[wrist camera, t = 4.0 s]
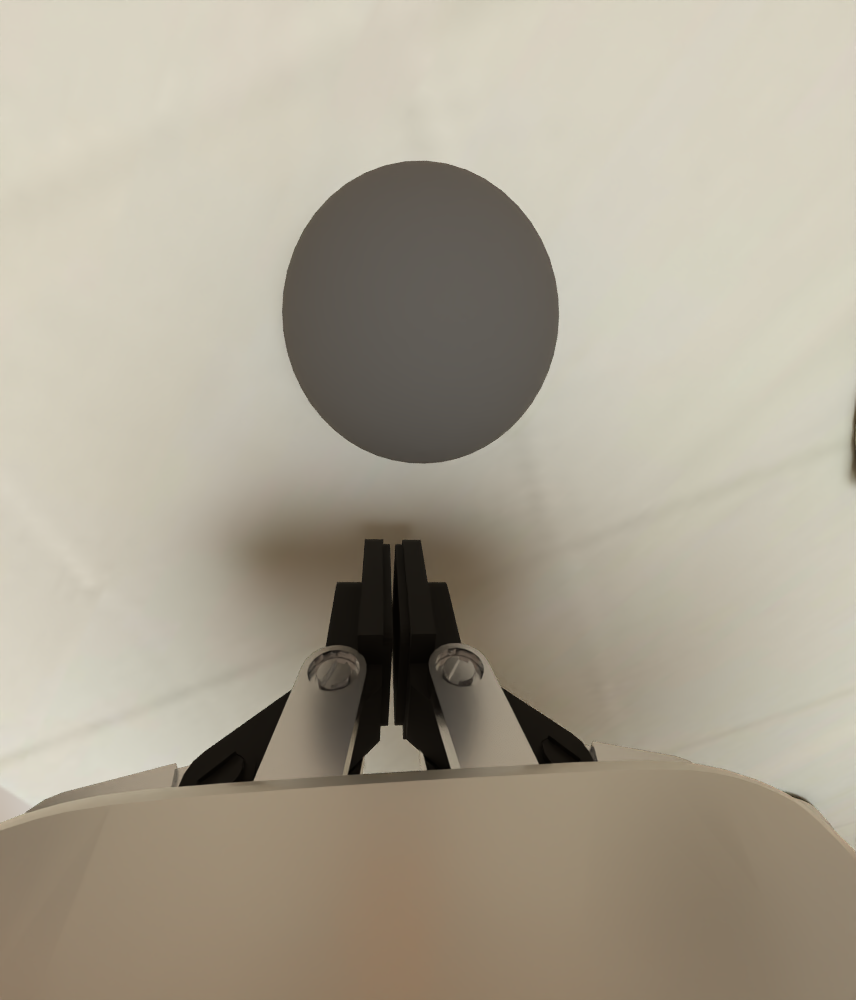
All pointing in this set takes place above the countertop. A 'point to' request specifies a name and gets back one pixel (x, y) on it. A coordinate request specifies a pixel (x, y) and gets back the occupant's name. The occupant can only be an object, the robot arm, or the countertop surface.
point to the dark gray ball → (420, 312)
